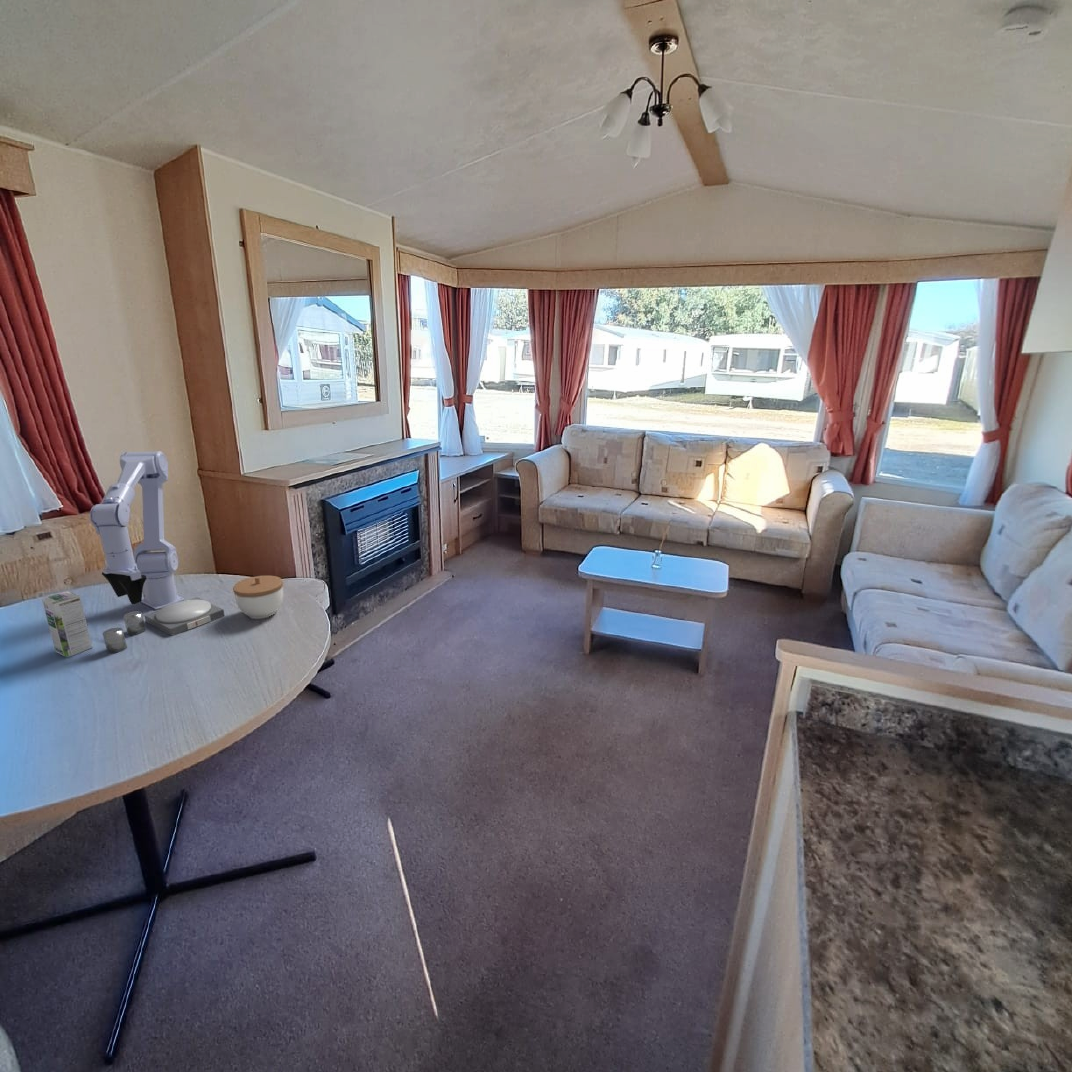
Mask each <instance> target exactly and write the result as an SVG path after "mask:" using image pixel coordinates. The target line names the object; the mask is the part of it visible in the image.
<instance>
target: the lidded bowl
mask: <svg viewBox="0 0 1072 1072" xmlns="http://www.w3.org/2000/svg"><path fill="white" fill-rule="evenodd" d="M232 590H233V591H232V592H233V594H234V599H235V603H236V605H237V608H238V609H239V610H240V611H241V612H242V613H243V614H244V615H246V616H248V618H250V619H254V620H261V619H267V618H270V617H272V616H274V615H276V613H277V611H278V609H279V608H280V607H281V605H282V604H283V601H284V581H283V579H282V578H281V577H280V576H275V575H257V576H252V577H248V578H245V579H242V580H240V581H238V582H236V583H235V584H234V585H233V587H232ZM273 614H274V615H273ZM271 615H272V616H271ZM269 616H270V617H269Z"/></svg>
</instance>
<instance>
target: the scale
mask: <svg viewBox="0 0 1072 1072" xmlns="http://www.w3.org/2000/svg"><path fill="white" fill-rule="evenodd" d="M143 617H144V622H146V623H148V624H149V625H151V626H153V627H155V628H157V629H158V630H160V631H162V632H164V633H166V634H167V635H170V636H171V637H172V636H175V635H178V634H181V633H183V632H186V631H188V630H191V629H193V628H194V629H195V628H196V627H199V626H202V625H204V624H207V623H209V622H212V621H215V620H217V619H221V618H222V617H225V610H224V608H222V607H219V606H217V605H214V604H213V603H211V602H209V601H208V600H204V599H201V598H199V597H194V598H191V599H187V600H184V601H180V602H176V603H173V604H170V605H167V606H165V607H163V608H160V609H157V610H155V611H152V612H149V613H147V614H144V615H143Z"/></svg>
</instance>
